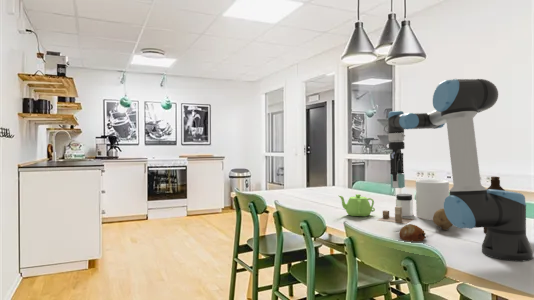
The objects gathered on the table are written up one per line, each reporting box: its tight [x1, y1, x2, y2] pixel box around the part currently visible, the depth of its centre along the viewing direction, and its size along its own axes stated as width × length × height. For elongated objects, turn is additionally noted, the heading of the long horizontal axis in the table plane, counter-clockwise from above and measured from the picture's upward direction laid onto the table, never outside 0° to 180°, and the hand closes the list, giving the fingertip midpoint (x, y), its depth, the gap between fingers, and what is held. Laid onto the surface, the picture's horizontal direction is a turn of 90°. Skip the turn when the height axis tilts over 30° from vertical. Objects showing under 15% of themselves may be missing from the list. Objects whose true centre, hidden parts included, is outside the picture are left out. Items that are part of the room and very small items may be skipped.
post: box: [394, 205, 403, 221], centre depth 177 cm, size 3×3×7 cm
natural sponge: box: [432, 209, 454, 231], centre depth 160 cm, size 9×9×10 cm
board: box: [377, 216, 414, 225], centre depth 180 cm, size 12×15×1 cm
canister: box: [415, 179, 450, 221], centre depth 184 cm, size 16×16×20 cm
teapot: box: [338, 193, 376, 217], centre depth 194 cm, size 16×14×13 cm
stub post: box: [382, 209, 390, 218], centre depth 186 cm, size 3×3×4 cm
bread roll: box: [398, 223, 427, 242], centre depth 149 cm, size 10×10×8 cm
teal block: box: [390, 173, 406, 189], centre depth 177 cm, size 5×5×7 cm
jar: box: [395, 193, 414, 217], centre depth 191 cm, size 9×8×12 cm
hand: (397, 186), depth 177 cm, fingers closed on teal block, 5 cm apart
